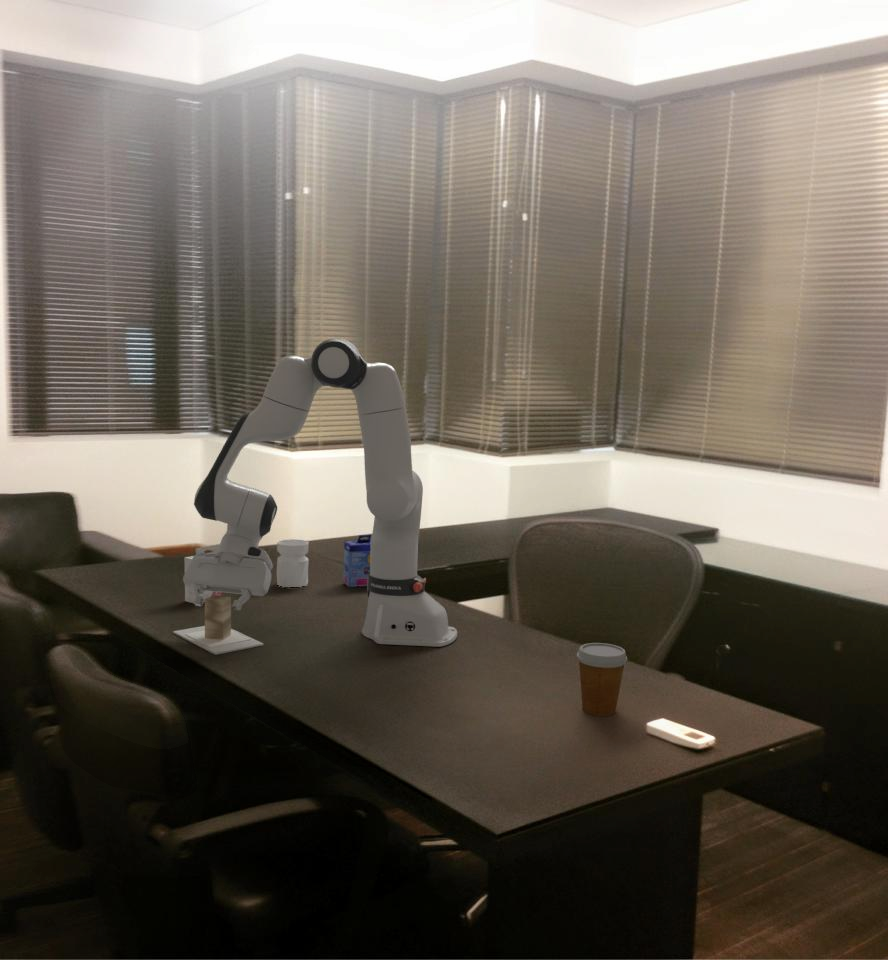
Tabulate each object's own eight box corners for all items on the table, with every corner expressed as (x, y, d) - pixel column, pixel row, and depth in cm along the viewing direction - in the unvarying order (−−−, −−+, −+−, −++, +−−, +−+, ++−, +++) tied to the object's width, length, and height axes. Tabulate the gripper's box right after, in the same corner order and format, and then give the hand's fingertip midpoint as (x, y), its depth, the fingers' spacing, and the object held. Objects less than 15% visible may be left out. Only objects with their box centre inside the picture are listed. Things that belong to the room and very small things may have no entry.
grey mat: (173, 633, 236) (173, 630, 236) (219, 624, 244) (219, 622, 244) (215, 654, 221) (215, 652, 221) (263, 645, 229) (263, 642, 229)
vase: (271, 586, 282) (271, 543, 281) (285, 579, 291) (285, 538, 289) (300, 589, 280) (300, 546, 278) (313, 582, 288) (313, 540, 286)
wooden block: (230, 635, 234) (231, 596, 232) (223, 639, 230) (223, 601, 229) (212, 633, 235) (212, 595, 233) (204, 637, 231) (204, 599, 230)
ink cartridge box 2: (348, 588, 283) (349, 536, 281) (342, 583, 288) (343, 533, 286) (381, 585, 288) (383, 534, 286) (374, 580, 292) (375, 531, 290)
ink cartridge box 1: (209, 595, 271) (209, 540, 269) (222, 598, 268) (222, 543, 266) (183, 601, 264) (183, 545, 262) (196, 604, 261) (196, 548, 259)
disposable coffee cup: (590, 697, 202) (593, 639, 200) (633, 710, 196) (636, 649, 194) (564, 710, 195) (567, 649, 193) (607, 723, 189) (611, 660, 187)
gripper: (190, 544, 239) (170, 595, 231) (271, 551, 234) (253, 603, 226) (199, 559, 244) (179, 609, 236) (279, 566, 239) (261, 618, 231)
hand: (216, 606), depth 231 cm, fingers open, 8 cm apart
